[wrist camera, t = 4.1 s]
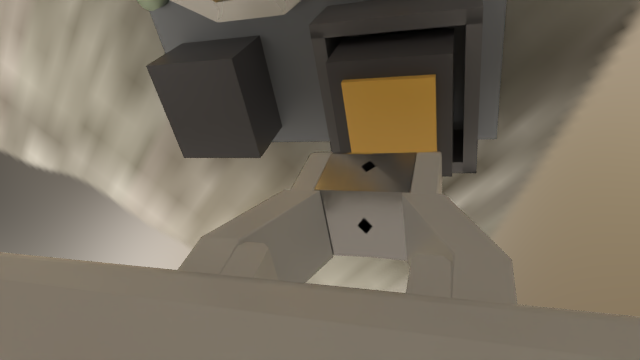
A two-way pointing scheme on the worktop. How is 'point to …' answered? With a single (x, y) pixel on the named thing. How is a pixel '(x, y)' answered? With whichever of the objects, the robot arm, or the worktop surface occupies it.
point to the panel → (309, 71)
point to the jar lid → (238, 8)
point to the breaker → (395, 93)
